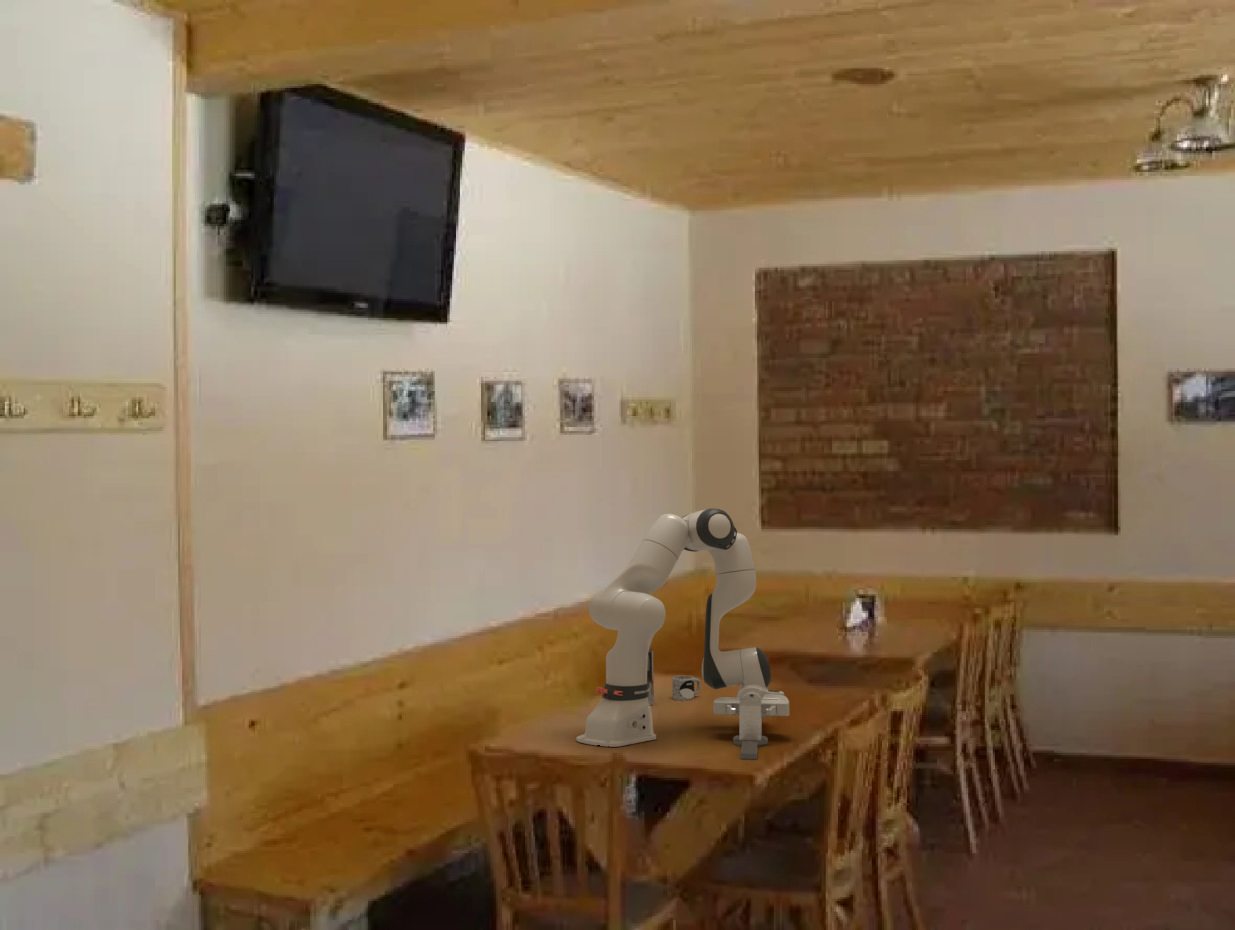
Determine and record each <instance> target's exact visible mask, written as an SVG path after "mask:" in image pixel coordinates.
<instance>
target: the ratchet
mask: <svg viewBox="0 0 1235 930" xmlns="http://www.w3.org/2000/svg"><path fill="white" fill-rule="evenodd" d="M732 738H733V739H732V741H733V742H732V743H733V745H734V746H737V745H739V746H738V747H740V756H739V757H740V759H739V760H757V759H758V758H757V757H758V748H759V747H760V748H761V747H766V746H767V745H768V741H769V740H768V736H765V735H762V736H761V740H739V735H735V736H733V737H732Z"/></svg>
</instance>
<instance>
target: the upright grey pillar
mask: <svg viewBox="0 0 1235 930" xmlns="http://www.w3.org/2000/svg"><path fill="white" fill-rule="evenodd" d="M738 716H739V722H738V723H739V725H738V727H739V728H738V729H739V730H738V731H739V740H761V736H763V732H762V730H763V729H762V726H763V725H762V719H763V718H762V698H756V697H740V701H739V715H738Z"/></svg>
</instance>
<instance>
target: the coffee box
mask: <svg viewBox="0 0 1235 930" xmlns="http://www.w3.org/2000/svg"><path fill="white" fill-rule="evenodd" d="M654 669H655V667H654V648H649V651H648V661H647V682H648V683H649V696H648V697H647V698H648V702H649V705H650V706H653V705H654V703H655V688H654V682H655V681H654V680H655V679H654V677H655V675H654V672H655V671H654Z"/></svg>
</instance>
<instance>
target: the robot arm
mask: <svg viewBox="0 0 1235 930" xmlns="http://www.w3.org/2000/svg"><path fill="white" fill-rule="evenodd" d="M683 551H687V552H700V551H708V552H709V553H710V555H711V557H712V559H713V562H714V571H715V586H714V589H713V591H712V592H711V593H710V594H709V595H708V597H707V600H706V606H705V619H704V644H703V645H704V646H703V647H704V648H703V657H702V658H703V659H702V663H701V676H702V679H703V682H704V684H706V685H707V686H709V688H711V689H714V690H719V689H720V690H721V689H724V688H728V687H734V686H739V688H738V691H737V693H736V697H733V696H732V697H729V696H728V697H727V696H724V697H723V696H722V697H716V698H715V699H714V700H713V701H712V705H713V706H712V707H713V709H712V710H713V711H712V713H713V714H714V715H716V716H717V715H718V716H719V715H720V716H721V715H722V716H723V715H724V716H739V701H740V697H756V698H762V719H763V718H768V717H770V718H771V717H788V716H790V700H789V699H788V697H787V696H786V695H785V692H783V691H780V690H773V689H768V688H769V685H770V684H771V681H772V677H771V668H770V667H771V666H770V662H769V659H768V655H767V654H766V653H765V652H764V651H763V650H762V649H761V648H759V647H757V646H756V647H749V648H748V647H746V648H740V649H733V650H725V651H722V650H720V648H719V644H720V643H719V641H720V640H719V638H720V623H721V620H722V619H723V617H724V616H725V615H726V614H727V613H728V612H730V611H731V610H733V609H735V608H737V607H739V606H741V605H743V604H744V603H746V602H747V601H748V600H750V598H751V597H752V596H753V595H754V593H755V592H756V588H757V575H756V574H757V572H756V567H755V561H754V557H753V556H754V555H753V552H752V548H751V545H750V543H749V540H748V538H747V537H746V536H745V535H744V534H742V533H740V532H738V530H737V528H736V527H735V524H734V522H733V519H732V518H731V516H730V515H729V514H728V513H727V512H726V511H724V510H723V509H720V508H716V507H715V508H714V507H713V508H712V507H710V508H707V509H702V510H696V511H693V512H691V513H688V514H686V515H683V516H679V515H677V514H673V513H664V514H661V515H660V516H659V517H658V518H657V519H656V520H655V521H654V523H653V524H652V525H651V526H650V528H649V529H648V530H647V532H646V534H645V535H644V537H643V539H642V541H641V543H640V544H639V546H638V547H637V549H636V551H635V553H634V554H633V556H632V558H631V560H630V561H629V563H628V564H627V565H626V567H625V568H624V569H623V570H622V571H621V573H619V574H618V575H617V577H616V578H614V580H613V581H612V582H610V584H608V585H607V586H605V587H603V589H600V590H598V591H596V593H594V594H593V595H592V597H591V598H590V600H589V603H588V614H589V616H590V618H591V620H592V621H593V622H594V623H596V624H597V625H598V626H600V627H603V628H605V629H607V630H613V631H617V637H616V640H615V644H614V645H613V647H612V648H610V649H609V650H608V652H607V653H606V656H605V676H606V677H605V682H604V686H603V687H601V686H597V687H596V689H595V693H596V694H597V695H601V697H602V698H601V699H600V701H599V702H598V704H597V705H596V706H595V707H594V709H592V711H591V712H590V714H588V715H587V718H586V720H585V729H584V733H583V734H580V735H578V736H575V737H576V739H575V741H576V740H577V741H576V742H579V743H581V744H585V745H591V746H592V745H593V746H597V745H600V747H608V746H609V747H612V748H613V747H614V748H617V747H623V746H627V745H628V746H629V745H634V744H639V743H643V742H650V741H653V740H654V741H655V740H657V734H655V733H654V725H653V713H652V707H651V705H649V702H648V698H647V697H648V696H649V683H648V682H647V661H648V651H649V649H650V647H651V643H652V641H653V638H654V636H655V634H656V633H657V632H658V631H660V629H661V628H662V627H663V625H664V623H665V621H666V614H667V613H666V608H665V605H664V603H663V602H662V601H661V599H659V598H657V597H655V596H653V595H652V593H654V592H655V591H657V590H659V589H660V588H662V587H663V586H664V585H665V584H666V582H667V581H668V579H669V577H670V576H671V573H672V571H673V569H674V568H675V565H676V564H677V562H678V560H679V558H680V556H681V554H682V552H683Z"/></svg>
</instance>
